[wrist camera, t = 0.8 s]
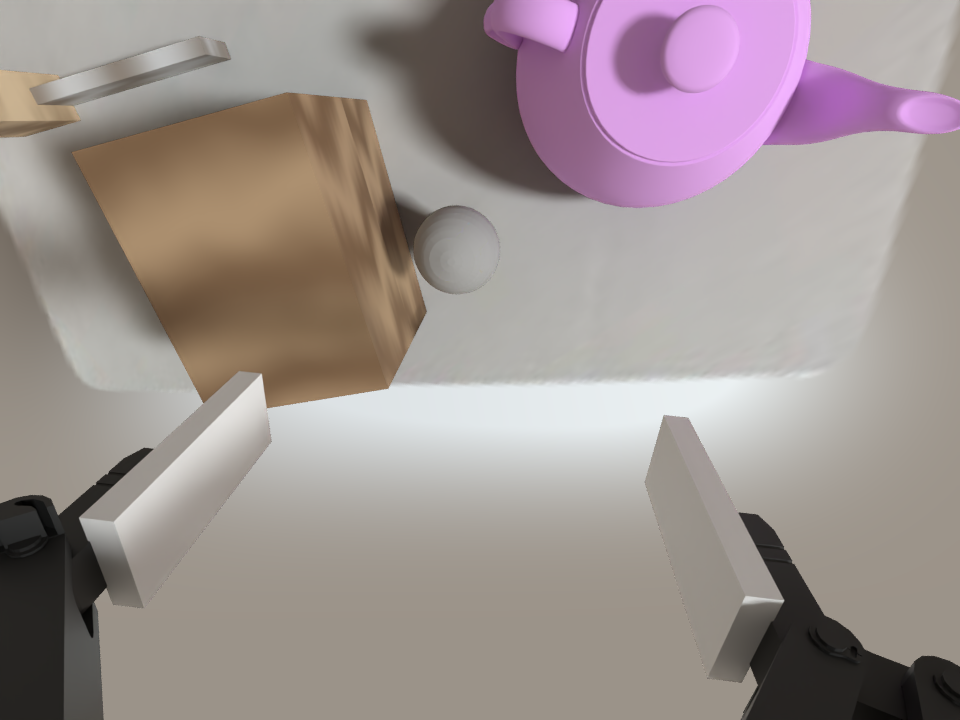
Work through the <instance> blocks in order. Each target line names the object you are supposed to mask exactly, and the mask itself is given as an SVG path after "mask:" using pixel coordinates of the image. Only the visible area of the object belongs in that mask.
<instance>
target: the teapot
mask: <svg viewBox="0 0 960 720" xmlns="http://www.w3.org/2000/svg"><path fill="white" fill-rule="evenodd" d="M810 27H811V6H810V0H494V2H493V3H492V4H491V5H490V6H489V8H488V9H487V11H486V13H485V16H484V31H485V33H486V34H487V35H488V36H489V37H491V38H492V39H494V40H496V41H497V42H499V43H501V44H503V45H505V46H507V47H510V48H512V49H516V50H517V49H518V54H517V67H516V88H517V99H518V105H519V111H520V115H521V118H522V121H523V125H524V128H525V131H526V133H527V135H528V137H529V140H530V142H531V144H532V146H533V147H534V149H535V151H536V152H537V154H538V156H539V157H540V159H541V160H542V161H543V162H544V164H545V165H546V166H547V167H548V169H549V170H550V171H551V172H552V173H553V174H555V175H556V176H557V177H558V178H559V179H560V180H561V181H562V182H563V183H565V184H566V185H568V186H569V187H570V188H572V189H573V190H575V191H576V192H578V193H580V194H582V195H584V196H586V197H588V198H590V199H593V200H596V201H599V202H602V203H605V204H610V205H615V206H620V207H633V208H642V207H656V206H662V205H667V204H672V203H676V202H679V201H682V200H685V199H688V198H691V197H693V196H696V195H698V194H700V193H702V192H704V191H706V190H709V189H710V188H712V187H714V186H715V185H717V184H719V183H720V182H722V181H724V180H725V179H726V178H728V177H729V176H730V175H732V174H733V173H734V172H736V171H737V170H738V169H739V168H741V167H742V166H743V165H744V164H745V163H746V162H747V161H748V160H749V159H750V158H751V157H752V156H753V155H754V154H755V153H756V152H757V150H758V149H759V148H760V147H761V146H762V145H801V144H812V143H818V142H823V141H828V140H832V139H836V138H839V137H843V136H847V135H851V134H856V133H862V132H870V131H899V132H909V133H918V134H940V133H947V132H951V131H955V130H958V129H960V101H959V100H957V99H954V98H952V97H949V96H946V95H942V94H938V93H933V92H926V91H918V90H909V89H903V88H897V87H892V86H888V85H884V84H880V83H877V82H874V81H871V80H869V79H866V78H864V77H861V76H859V75H857V74H854V73H852V72H849V71H846V70H843V69H840V68H836V67H833V66H829V65H825V64H820V63H816V62H813V61H810V60H807V59H806V56H807V51H808V45H809V39H810Z"/></svg>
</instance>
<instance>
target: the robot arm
mask: <svg viewBox="0 0 960 720" xmlns="http://www.w3.org/2000/svg"><path fill="white" fill-rule="evenodd" d="M270 443H271V434H270V428H269V421H268V414H267V407H266V400H265V393H264V386H263V379H262V373H252V372H243V371H239V372H238V373H236V374H235V375H234V376H233V377H232V378H231V379H230V380H229V381H228V382H227V383H225V384H224V385H223V386H222V387H221V388H220V389H219V390H218V391H217V392H216V393H215V394H213V395H212V396H211V397H210V398H209V399H208V400H207V401H206V402H205V403H204V404H203V405H201V406H200V407H199V408H198V409H197V410H196V411H195V412H194V413H193V414H192V415H191V416H189V417H188V418H187V419H186V420H185V421H184V422H183V423H182V424H181V425H180V426H179V427H178V428H176V429H175V430H174V431H173V432H172V433H171V434H170V435H169V436H168V437H166V438H165V439H164V440H163V441H162V442H161V443H160V444H159V445H158V446H157V447H156V448H154V449H150V448H143V449H141V450H139V451H137V452H135V453H133V454H132V455H130V456H128V457H126V458H124V459H123V460H122V461H120V462H119V463H118V464H117V465H116V466H115V467H114V468H112V469H111V470H110V471H109V473H108V475H104V476H103V477H102V478H101V479H100V480H99V481H97V482H96V485H93V486H92V487H91V488H89V489H88V490H87V491H86V492H85V493H84V494H83V495H81V496H80V497H79V498H78V499H77V500H76V501H75V502H73V503H72V504H71V505H70V506H69V507H68V508H67V509H65V510H64V511H63V512H62V513H61V514H60V515H57V512H56V510H55V507H54V505H53V503H52V500H51V499H50V498H47V497H45V496H43V495H42V496H39V495H29V496H23V497H18V498H14V499H12V500H9V501H6V502H3V503H0V720H103V701H102V684H101V683H102V682H101V664H100V645H99V626H98V611H97V608H96V606H95V603H94V601H95V600H96V598H98V596H99V595H100V594H101V593H102V592H103V591H104V589H105V588H107V590H108V593H109V596H110V598H111V601H112V603H113V605H121V606H129V607H137V608H145V607H146V605H147V604H148V603H149V602H150V600H151V599H152V598H153V596H154V595H155V594H156V592H157V591H158V590H159V588H160V587H161V586H162V584H163V583H164V582H165V581H166V579H167V578H168V577H169V575H170V574H171V573H172V571H173V570H174V569H175V567H176V566H177V565H178V564H179V562H180V561H181V560H182V558H183V557H184V556H185V554H186V553H187V552H188V550H189V549H190V548H191V546H192V545H193V544H194V543H195V541H196V540H197V538H198V537H199V536H200V535H201V533H202V532H203V531H204V529H205V528H206V527H207V525H208V524H209V523H210V522H211V520H212V519H213V518H214V516H215V515H216V514H217V512H218V511H219V510H220V509H221V507H222V506H223V505H224V503H225V502H226V501H227V499H228V498H229V497H230V495H231V494H232V493H233V492H234V490H235V489H236V488H237V486H238V485H239V484H240V482H241V481H242V480H243V478H244V477H245V476H246V474H247V473H248V472H249V471H250V469H251V468H252V466H253V465H254V464H255V463H256V461H257V460H258V459H259V457H260V456H261V455H262V454H263V452H264V451H265V449H266V448H267V447H268V445H269V444H270ZM645 485H646V488H647V491H648V494H649V497H650V501H651V504H652V506H653V510H654V513H655V516H656V519H657V522H658V526H659V528H660V532H661V535H662V538H663V541H664V544H665V547H666V551H667V554H668V557H669V560H670V563H671V566H672V570H673V572H674V576H675V579H676V582H677V585H678V588H679V591H680V594H681V598H682V601H683V604H684V607H685V610H686V613H687V616H688V620H689V623H690V626H691V629H692V632H693V635H694V638H695V642H696V645H697V647H698V651H699V654H700V657H701V660H702V664H703V667H704V670H705V673H706V676H707V678H708V679H716V680H723V681H732V682H740V683H741V682H742V681H743V679H744V677H745V675H746V674H747V671H748V670H749V667H751V669H752V671H753V674H754V677H755V679H756V681H757V684H758V686H757V688H756V690H755V692H754V694H753V695H752V697H751V699H750V701H749V703H748V704H747V706H746V708H745V710H744V712H743V713H744V714H743V716H742V718H741V720H960V667H959V666H958V665H956V664H954V663H952V662H950V661H948V660H945V659H942V658H939V657H935V656H921V657H920V658H918V659H917V660H916V661H914V663H913V664H912V665H911V667H907V666H905V665H902V664H900V663H897V662H894V661H892V660H889V659H886V658H884V657H881V656H879V655H876V654H873V653H871V652H869V651H866V650H865V649H864V648H863V646H862V645H861V643H860V642H859V640H858V639H857V638H856V637H855V636H854V635H853V634H852V633H851V631H849V630H848V629H846V628H845V627H844V626H842V625H841V624H840V623H838V622H837V621H835V620H832V619H831V618H829V617H826V616H825V615H824V614H823V612H822V611H821V609H820V607H819V605H818V604H817V602H816V600H815V599H814V597H813V595H812V594H811V592H810V590H809V589H808V587H807V585H806V583H805V582H804V580H803V579H802V577H801V575H800V573H799V571H798V570H797V568H796V566H795V565H794V564H792V560H791V558H790V556H789V555H788V553H787V551H786V550H784V546H783V544H782V543H781V541H780V539H779V538H778V536H777V534H776V533H775V531H774V530H773V529H772V528H771V527H770V526H769V525H768V524H767V523H766V522H765V521H764V520H763V519H762V518H760V517H759V515H756V514H747V513H738V512H737V510H736V508H735V506H734V504H733V502H732V500H731V498H730V496H729V495H728V493H727V491H726V489H725V487H724V485H723V483H722V481H721V479H720V477H719V475H718V474H717V472H716V470H715V468H714V466H713V464H712V462H711V460H710V459H709V457H708V455H707V453H706V451H705V449H704V447H703V445H702V443H701V441H700V439H699V437H698V436H697V434H696V432H695V430H694V428H693V426H692V424H691V422H690V420H689V418H685V417H676V416H667V415H664V416H663V420H662V424H661V427H660V431H659V434H658V438H657V442H656V445H655V448H654V452H653V455H652V459H651V462H650V466H649V469H648V473H647V476H646V480H645Z"/></svg>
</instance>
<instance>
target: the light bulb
mask: <svg viewBox="0 0 960 720" xmlns="http://www.w3.org/2000/svg"><path fill="white" fill-rule="evenodd" d="M413 253H414V259H415V263H416V265H417V268H418V270H419V272H420V273H421V275H422V276H423V278H424V279H425V280H426V281H427V282H428V283H429V284H430V285H432V286H433V287H434V288H436V289H438V290H440V291H443V292H446V293H450V294H464V293H469V292H472V291H475V290H477V289H479V288H480V287H482V286H483V285H484V284H486V283H487V282H488V281H489V279H490V278H491V277H492V275H493V274H494V272H495V270H496V267H497V265H498V261H499V257H500V242H499V238H498V235H497V232H496V230H495V228H494V227H493V225H492V224H491V222H490V221H489V220H488V219H487V218H486V217H485V216H484V215H482V214H481V213H480V212H478V211H476V210H474V209H472V208H469V207H465V206H447V207H443V208H441V209H438V210H436V211H435V212H433V213H432V214H431V215H429V216H428V217H427V218H426V219H425V220H424V222H423V223H422V224H421V226H420V227H419V229H418V231H417V233H416V236H415V239H414V246H413Z"/></svg>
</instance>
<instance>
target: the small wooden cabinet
mask: <svg viewBox="0 0 960 720" xmlns="http://www.w3.org/2000/svg"><path fill="white" fill-rule="evenodd" d="M72 154H73V156H74V158H75V160H76V162H77V164H78V166H79V168H80V169H81V171H82V173H83V175H84V177H85V179H86V181H87V183H88V185H89V187H90V188H91V190H92V192H93V194H94V196H95V198H96V200H97V202H98V204H99V206H100V207H101V209H102V211H103V213H104V215H105V217H106V219H107V221H108V223H109V225H110V226H111V228H112V230H113V232H114V234H115V236H116V238H117V240H118V242H119V244H120V245H121V247H122V249H123V251H124V253H125V255H126V257H127V259H128V261H129V263H130V264H131V266H132V268H133V270H134V272H135V274H136V276H137V278H138V280H139V282H140V283H141V285H142V287H143V289H144V291H145V293H146V295H147V297H148V299H149V301H150V302H151V304H152V306H153V308H154V310H155V312H156V314H157V316H158V318H159V320H160V321H161V323H162V325H163V327H164V329H165V331H166V333H167V335H168V337H169V339H170V340H171V342H172V344H173V346H174V348H175V350H176V352H177V354H178V356H179V358H180V359H181V361H182V363H183V365H184V367H185V369H186V371H187V373H188V375H189V377H190V378H191V380H192V382H193V384H194V386H195V388H196V390H197V392H198V394H199V395H200V397H201V399H202V401H203V403H205V402H206V401H207V400H208V399H209V398H210V397H211V396H212V395H213V394H215V393H216V392H217V391H218V390H219V389H220V388H221V387H222V386H223V385H224V384H225V383H227V382H228V381H229V380H230V379H231V378H232V377H233V376H234V375H235V374H236V373H238V372H239V371H243V372H252V373H262V379H263V386H264V393H265V400H266V407H267V408H271V407H277V406H284V405H290V404H296V403H302V402H308V401H315V400H321V399H327V398H333V397H339V396H345V395H351V394H358V393H364V392H370V391H376V390H382V389H388V388H389V386H390V384H391V382H392V380H393V378H394V376H395V374H396V372H397V370H398V368H399V366H400V364H401V362H402V360H403V358H404V356H405V354H406V352H407V350H408V348H409V346H410V344H411V342H412V340H413V338H414V336H415V334H416V332H417V330H418V328H419V326H420V324H421V322H422V320H423V318H424V316H425V314H426V312H427V311H426V308H425V304H424V301H423V297H422V294H421V290H420V287H419V283H418V280H417V276H416V272H415V269H414V265H413V262H412V258H411V255H410V251H409V248H408V244H407V241H406V237H405V234H404V230H403V227H402V223H401V220H400V216H399V213H398V209H397V206H396V202H395V199H394V195H393V191H392V188H391V184H390V181H389V177H388V174H387V170H386V167H385V163H384V160H383V156H382V153H381V149H380V146H379V142H378V139H377V135H376V132H375V128H374V125H373V121H372V118H371V114H370V110H369V107H368V103H367V100H360V99H349V98H339V97H329V96H318V95H308V94H297V93H283V94H280V95H276V96H273V97H269V98H265V99H262V100H258V101H255V102H251V103H247V104H244V105H240V106H236V107H233V108H229V109H226V110H222V111H218V112H215V113H211V114H208V115H204V116H200V117H197V118H193V119H190V120H186V121H182V122H179V123H175V124H172V125H168V126H164V127H161V128H157V129H153V130H150V131H146V132H143V133H139V134H135V135H132V136H128V137H125V138H121V139H117V140H114V141H110V142H107V143H103V144H99V145H96V146H92V147H89V148H85V149H81V150H78V151H74V152H72Z"/></svg>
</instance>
